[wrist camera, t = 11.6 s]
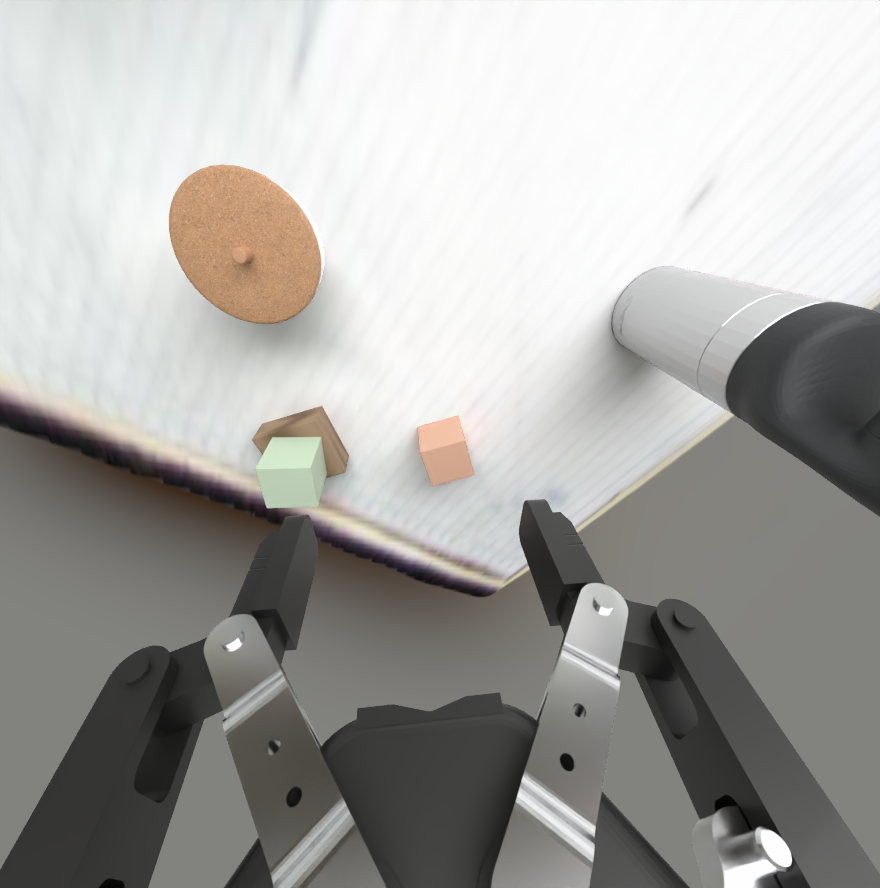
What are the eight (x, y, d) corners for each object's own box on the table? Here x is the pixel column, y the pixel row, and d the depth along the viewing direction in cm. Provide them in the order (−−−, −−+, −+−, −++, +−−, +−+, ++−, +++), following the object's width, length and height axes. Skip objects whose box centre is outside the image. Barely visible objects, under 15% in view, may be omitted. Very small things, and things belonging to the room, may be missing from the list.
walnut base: (322, 404, 43) (315, 420, 40) (349, 454, 48) (345, 472, 44) (263, 422, 44) (251, 439, 41) (294, 469, 48) (287, 488, 45)
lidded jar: (190, 186, 30) (117, 179, 23) (310, 162, 30) (279, 146, 22) (248, 312, 36) (207, 341, 29) (349, 293, 36) (335, 316, 28)
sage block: (321, 436, 41) (310, 468, 36) (326, 473, 44) (317, 506, 39) (272, 437, 41) (254, 469, 36) (281, 474, 44) (266, 508, 39)
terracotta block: (458, 415, 46) (465, 440, 41) (467, 447, 49) (474, 475, 44) (417, 426, 46) (419, 452, 41) (429, 458, 49) (432, 486, 44)
